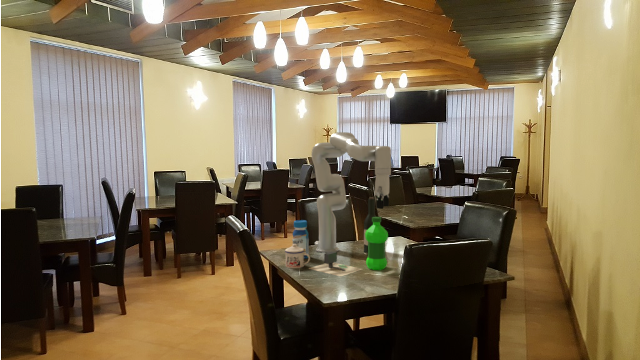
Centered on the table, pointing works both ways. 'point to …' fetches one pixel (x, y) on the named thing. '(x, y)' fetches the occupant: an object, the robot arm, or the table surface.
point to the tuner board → (335, 271)
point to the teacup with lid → (295, 257)
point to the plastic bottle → (376, 245)
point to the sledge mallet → (331, 259)
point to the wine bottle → (369, 220)
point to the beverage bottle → (301, 236)
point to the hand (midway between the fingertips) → (382, 207)
